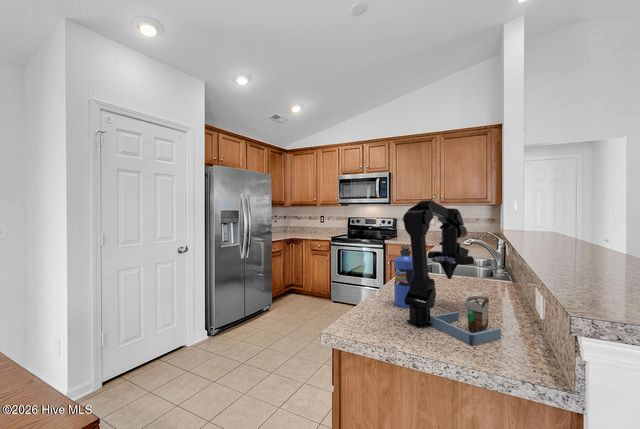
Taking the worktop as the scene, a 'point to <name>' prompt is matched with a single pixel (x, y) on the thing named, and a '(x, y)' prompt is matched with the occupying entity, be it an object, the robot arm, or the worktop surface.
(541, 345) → the worktop surface
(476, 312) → the food container
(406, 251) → the water bottle
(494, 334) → the slate-blue bay
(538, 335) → the worktop surface
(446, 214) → the robot arm
